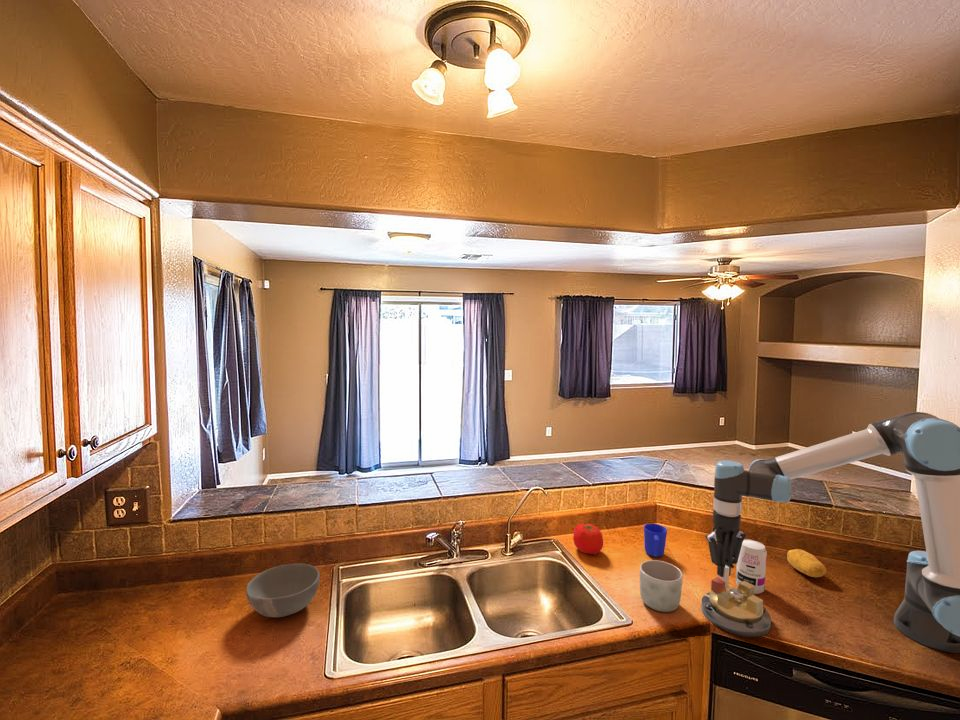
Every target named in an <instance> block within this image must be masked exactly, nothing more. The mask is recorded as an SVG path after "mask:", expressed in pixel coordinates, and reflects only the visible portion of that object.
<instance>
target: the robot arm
mask: <svg viewBox="0 0 960 720" xmlns="http://www.w3.org/2000/svg"><path fill="white" fill-rule="evenodd" d="M898 454H902V455H903V462H904V467H905V471H906V472H908V473H909V474H911V475H912V476H913V477H914V483H915V488H916V493H917V494H916V495H917V500H918V507H919V513H920V519H921V526H922V531H923V539H924V544H925V545H924V546H925V550H913V551H910V552H909V553H908V556H907V559H906V563H907V564H906V575H905V585H904V597H903V600H902V602H901V603H900V605H899V606H898V608H897V610H896V611H895V613H894V615H893V616H894V617H893V624H894V626H895V628H896V629H897V630H898V631H900V632H901V633H902V634H903V635H905V636H906V637H908V638H909V639H910V640H913V641H915V642H917V643H919V644H921V645H923V646H926V647H928V648H932V649H935V650H938V651H942V652H945V653H951V654H960V426H959V425H957V424H955V423H954V422H951V421H949V420H946V419H943V418H939V417H937V416H936V415H933V414H931V413H929V412H928V413H927V412H923V411H921V412H920V411H909V412H904V413H900V414H897V415H894V416H891V417H888V418H884V419H882V420H877V421H876V422H872V423H869V424H868V426H867V427H866V428H865V429H863V430H860V431H856V432H852V433H849V434H846V435H842V436H839V437H836V438H833V439H830V440H827V441H824V442H823V441H822V442H820V443H818V444H814V445H811V446H807V447H804V448H801V449H798V450H794V451H792V452H789V453H785V454H782V455H779V456H775V457H773V458H772V457H771V458H770V459H765V458H758V459H755V460H753V461H752V462H751V464H750V465H749V468H748V469H749V470H745V469H744V465H743V464H742V463H740V462H738V461H734V460H727V459H726V460H724V459H723V460H719V461H718V462H716V463H715V470H714V484H713V485H714V486H713V487H714V488H713V504H712V505H713V511H712V523H713V528H712V532H711V533H710V534H709V533H706V534H705V538H706V540H707V543H708V544H707V545H708V549H709V553H710V555H709V556H710V559H711V562H712V563H713V564H714V565H715V566H717V567H716V574H717V577H719V578H720V579H721V580H723V581H724V582H725V588H728V587H730V584H729V583H730V581H729V580H730V576H731V574H732V573H731V572H732V569H734V568H735V565H737V562H738V558H739V554H740V550H741V546H742V543H743V540H744V539H746V536H747V533H744V532H743V531H741V530H740V527H741V523H742V521H741V520H742V516H741V515H742V500H743V497H746V498H752V499H760V500H766V501H772V502H774V503H776V502H779V503H789V502H790V500H791V498H792V481H791V480H795V479H797V478H801V477H806V476H808V475H812V474H815V473H819V472H820V473H821V472H823V471H826V470H830V469H833V468H837V467H841V466H844V465H848V464H851V463H854V462H858V461H862V460H865V459H869V458H872V457H877V456H879V455H885V456H888V457H889V456H890V457H891V456H893V455H898Z"/></svg>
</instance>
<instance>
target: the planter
mask: <svg viewBox="0 0 960 720" xmlns="http://www.w3.org/2000/svg"><path fill="white" fill-rule="evenodd" d="M683 577H684V574H683V572H682V571H681V569H680V568H678V567H677V566H675V565H674V564H672V563H670V562H667V561H663V560H657V559H651V560H645V561H643V562H642V563H641V564H640V565H639V591H640V597H641V601H643V603H644V604H645V605H647V607H648V608H650V609H653V610H655V611H657V612H662V613H670V612H673V611H675V610H677V608H678V607H679V606H680V603H681V598H682V591H683V590H682V588H683V579H684V578H683Z"/></svg>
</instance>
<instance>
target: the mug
mask: <svg viewBox="0 0 960 720" xmlns="http://www.w3.org/2000/svg"><path fill="white" fill-rule="evenodd" d="M667 535H668V529H667V528H666V527H665V526H663V525H661V524H658V523H646V524H644V525H643V538H644V539H643V541H644V542H643V543H644V551H645V553H646V554H647V555H649V556H651V557H654V558H655V557H656V558H659V557H662V556H664V554H665V550H666V549H665V548H666V543H667Z"/></svg>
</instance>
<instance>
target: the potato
mask: <svg viewBox="0 0 960 720" xmlns="http://www.w3.org/2000/svg"><path fill="white" fill-rule="evenodd" d="M786 559H787V561H788V562H789V564H790V565H791V567H793V568H794V569H795V570H797V571H798V572H800V573H802V574H804V575H806V576H808V577H812V578H820V577H824V576H825V575H826V574H827V568H826V565H825V564H823V563H822V562H821V561H820V560H819V559H818V558H817V557H816V556H815V555H813V554H811V552H807V551H806V550H803V549H798V548H795V549H790V550H788V551H787V555H786Z"/></svg>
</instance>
